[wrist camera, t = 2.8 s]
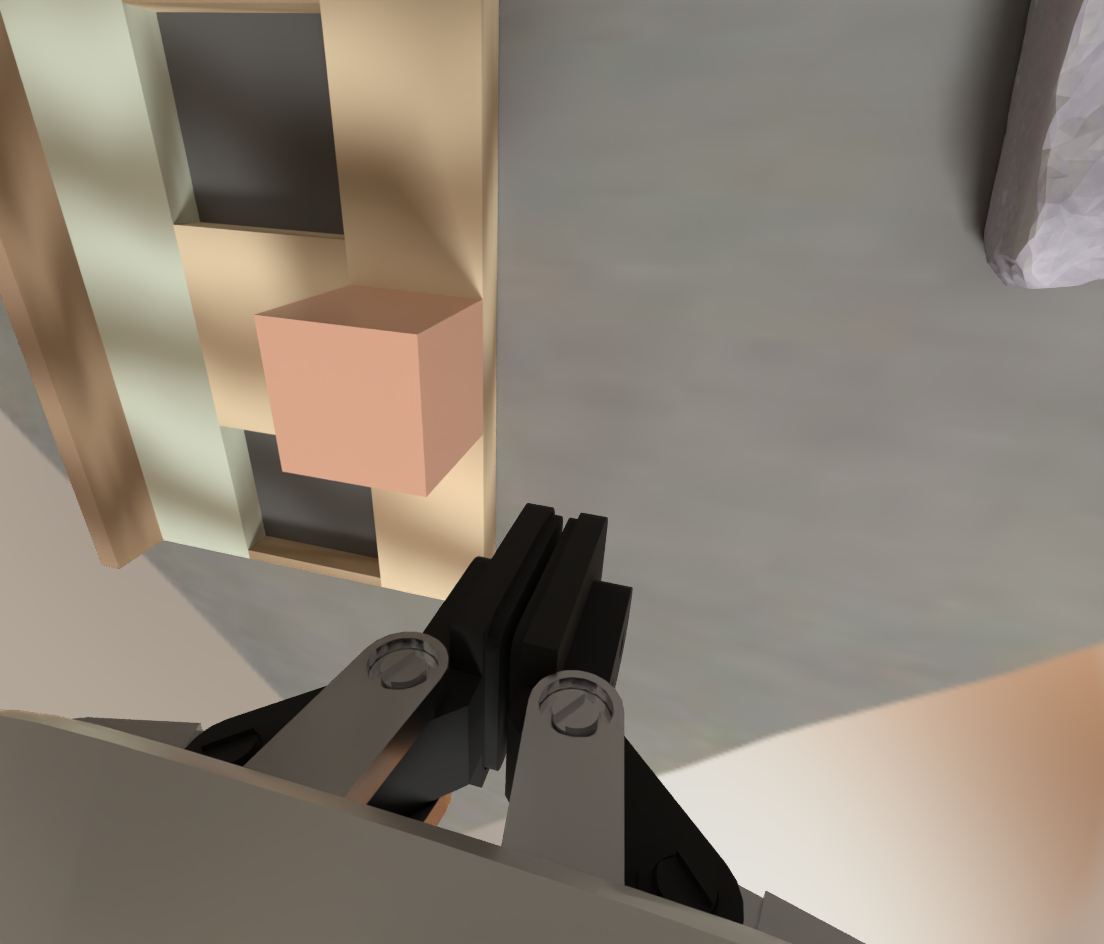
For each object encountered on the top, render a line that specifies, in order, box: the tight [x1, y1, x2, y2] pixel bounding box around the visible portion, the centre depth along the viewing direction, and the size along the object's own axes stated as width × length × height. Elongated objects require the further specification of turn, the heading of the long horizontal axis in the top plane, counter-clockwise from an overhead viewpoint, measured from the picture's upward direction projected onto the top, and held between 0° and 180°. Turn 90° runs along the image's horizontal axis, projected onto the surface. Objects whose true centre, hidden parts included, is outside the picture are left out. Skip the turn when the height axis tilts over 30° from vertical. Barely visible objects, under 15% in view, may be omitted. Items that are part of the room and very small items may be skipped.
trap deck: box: [0, 0, 499, 600], centre depth 22 cm, size 22×18×4 cm
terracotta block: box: [254, 285, 483, 497], centre depth 19 cm, size 5×5×5 cm
